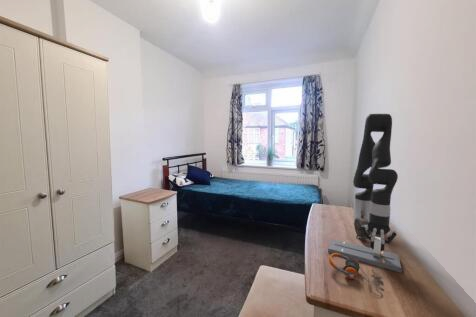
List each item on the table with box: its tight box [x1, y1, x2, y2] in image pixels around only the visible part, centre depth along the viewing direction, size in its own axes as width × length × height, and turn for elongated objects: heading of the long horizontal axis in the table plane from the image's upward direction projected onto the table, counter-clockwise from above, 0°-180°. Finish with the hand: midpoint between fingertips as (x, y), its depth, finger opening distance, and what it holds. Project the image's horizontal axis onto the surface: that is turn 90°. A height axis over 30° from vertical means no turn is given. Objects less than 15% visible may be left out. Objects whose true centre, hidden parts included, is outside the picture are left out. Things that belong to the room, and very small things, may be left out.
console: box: [327, 238, 402, 273], centre depth 97 cm, size 12×28×2 cm, turn 58°
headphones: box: [328, 253, 385, 297], centre depth 82 cm, size 17×5×20 cm
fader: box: [372, 236, 381, 257], centre depth 94 cm, size 5×3×7 cm, turn 148°
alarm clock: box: [353, 210, 371, 243], centre depth 114 cm, size 11×5×16 cm, turn 168°
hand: (376, 249), depth 94 cm, fingers closed on fader, 2 cm apart
